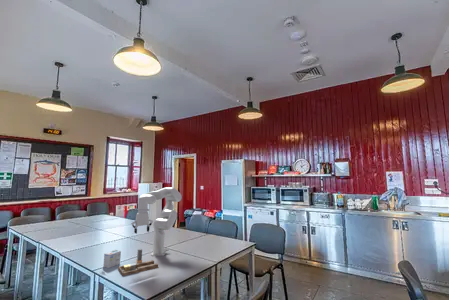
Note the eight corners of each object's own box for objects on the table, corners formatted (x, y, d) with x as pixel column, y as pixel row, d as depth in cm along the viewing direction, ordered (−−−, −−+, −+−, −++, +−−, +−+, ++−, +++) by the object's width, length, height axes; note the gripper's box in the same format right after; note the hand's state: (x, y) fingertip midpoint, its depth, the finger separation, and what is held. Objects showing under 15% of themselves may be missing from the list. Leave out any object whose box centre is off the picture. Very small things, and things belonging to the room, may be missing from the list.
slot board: (152, 263, 184) (152, 259, 184) (158, 268, 173) (158, 264, 173) (118, 270, 169) (118, 266, 169) (122, 277, 157) (122, 272, 158)
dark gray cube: (134, 268, 171) (134, 263, 171) (135, 270, 168) (136, 264, 168) (128, 269, 168) (129, 264, 169) (130, 271, 165) (130, 265, 166)
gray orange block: (140, 262, 186) (140, 248, 187) (141, 264, 182) (142, 249, 183) (136, 263, 184) (137, 249, 185) (138, 264, 180) (138, 250, 182)
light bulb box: (114, 263, 183) (115, 249, 184) (120, 264, 180) (121, 250, 182) (102, 268, 173) (103, 253, 175) (109, 269, 171) (110, 254, 172)
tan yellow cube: (128, 269, 168) (129, 264, 169) (130, 271, 165) (130, 265, 166) (123, 271, 166) (123, 265, 166) (124, 273, 163) (124, 267, 163)
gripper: (151, 209, 195) (150, 229, 194) (130, 211, 185) (129, 233, 183) (154, 210, 189) (153, 231, 188) (133, 212, 179) (132, 235, 177)
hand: (141, 232), depth 185 cm, fingers open, 9 cm apart
